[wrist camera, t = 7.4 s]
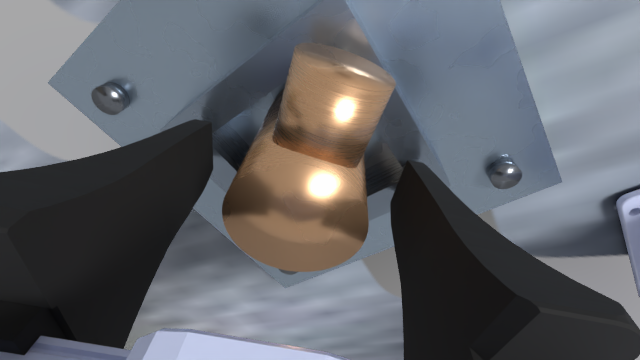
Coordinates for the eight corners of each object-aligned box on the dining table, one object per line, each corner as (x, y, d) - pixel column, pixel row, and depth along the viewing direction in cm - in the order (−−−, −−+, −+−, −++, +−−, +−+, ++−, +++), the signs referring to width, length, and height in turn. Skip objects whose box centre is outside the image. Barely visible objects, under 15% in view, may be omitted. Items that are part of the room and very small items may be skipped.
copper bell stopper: (342, 176, 15) (339, 284, 10) (259, 150, 14) (214, 251, 10) (399, 48, 11) (436, 119, 7) (293, 9, 11) (247, 55, 6)
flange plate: (550, 169, 15) (589, 211, 13) (287, 275, 21) (279, 317, 19) (388, -284, 8) (404, -388, 5) (64, 75, 14) (5, 101, 12)
